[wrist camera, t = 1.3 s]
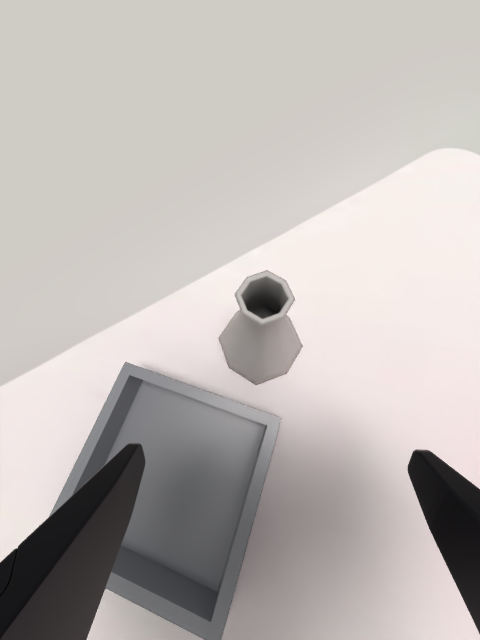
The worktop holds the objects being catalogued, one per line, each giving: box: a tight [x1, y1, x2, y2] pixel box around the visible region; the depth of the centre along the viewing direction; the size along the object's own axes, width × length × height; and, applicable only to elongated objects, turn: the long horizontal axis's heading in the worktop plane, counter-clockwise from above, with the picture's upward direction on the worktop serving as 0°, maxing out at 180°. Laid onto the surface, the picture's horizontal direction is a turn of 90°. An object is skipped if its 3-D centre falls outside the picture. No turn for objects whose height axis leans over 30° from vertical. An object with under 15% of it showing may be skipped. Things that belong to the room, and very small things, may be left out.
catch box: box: [49, 362, 282, 640], centre depth 19 cm, size 13×13×4 cm
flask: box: [219, 270, 303, 385], centre depth 19 cm, size 7×7×10 cm
